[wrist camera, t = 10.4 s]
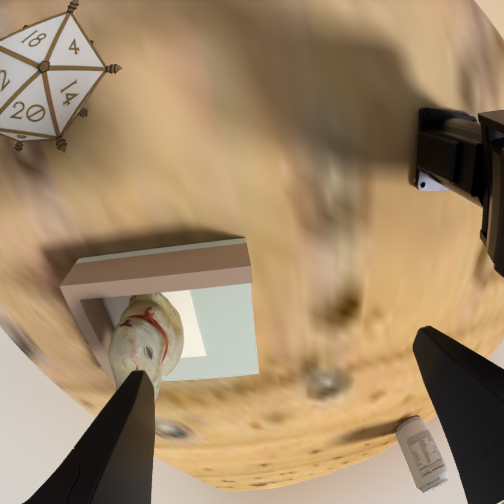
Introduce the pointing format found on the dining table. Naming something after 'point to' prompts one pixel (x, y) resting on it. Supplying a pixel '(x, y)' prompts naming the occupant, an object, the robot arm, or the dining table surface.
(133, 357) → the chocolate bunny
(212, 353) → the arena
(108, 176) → the dining table surface
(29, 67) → the game die
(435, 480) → the energy drink can
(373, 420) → the dining table surface
